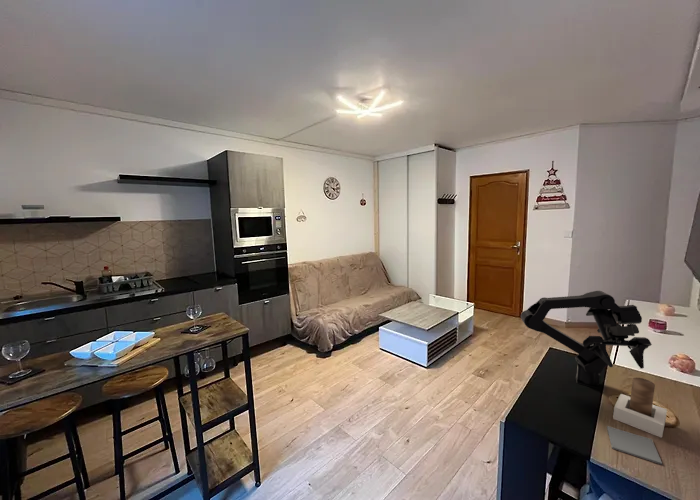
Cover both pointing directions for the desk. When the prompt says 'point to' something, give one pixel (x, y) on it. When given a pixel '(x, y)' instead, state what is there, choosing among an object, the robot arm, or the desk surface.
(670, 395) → the desk surface
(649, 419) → the frame
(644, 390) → the peg
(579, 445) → the desk surface
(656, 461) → the pad
